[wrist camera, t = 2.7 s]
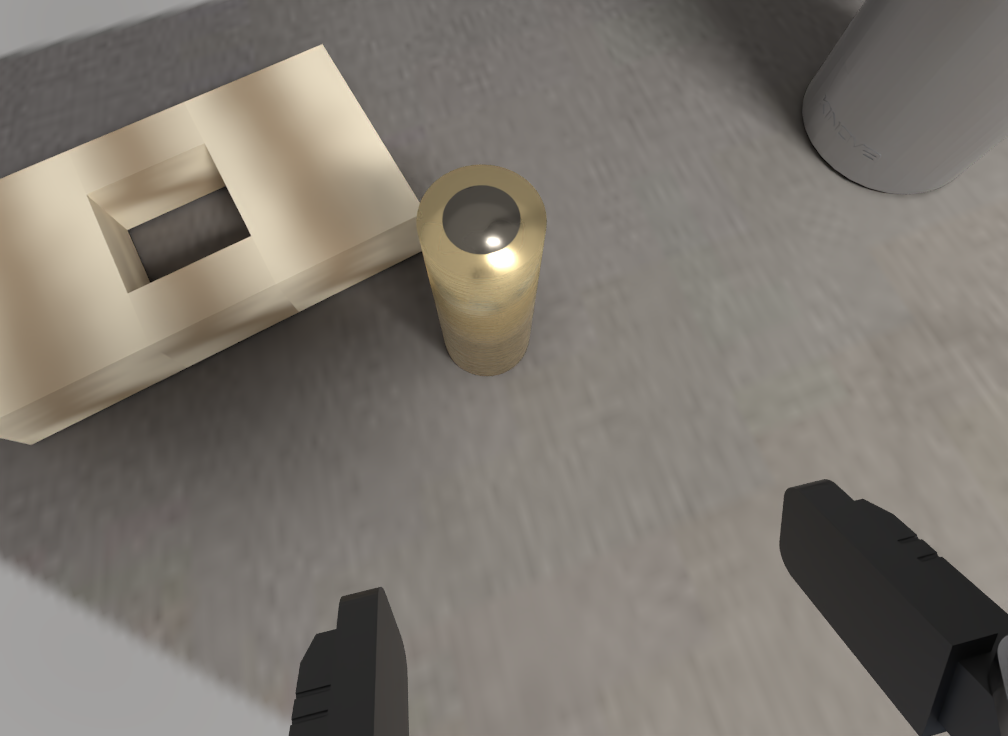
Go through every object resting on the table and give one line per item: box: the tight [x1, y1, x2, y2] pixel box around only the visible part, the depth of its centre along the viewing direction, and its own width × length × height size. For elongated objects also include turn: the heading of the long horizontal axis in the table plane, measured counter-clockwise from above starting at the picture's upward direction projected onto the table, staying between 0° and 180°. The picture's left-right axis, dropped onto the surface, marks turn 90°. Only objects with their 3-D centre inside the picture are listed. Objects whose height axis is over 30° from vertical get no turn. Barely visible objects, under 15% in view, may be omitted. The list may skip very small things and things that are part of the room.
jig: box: [0, 45, 422, 445], centre depth 27 cm, size 20×11×3 cm, turn 120°
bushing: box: [416, 165, 547, 376], centre depth 22 cm, size 4×4×10 cm
